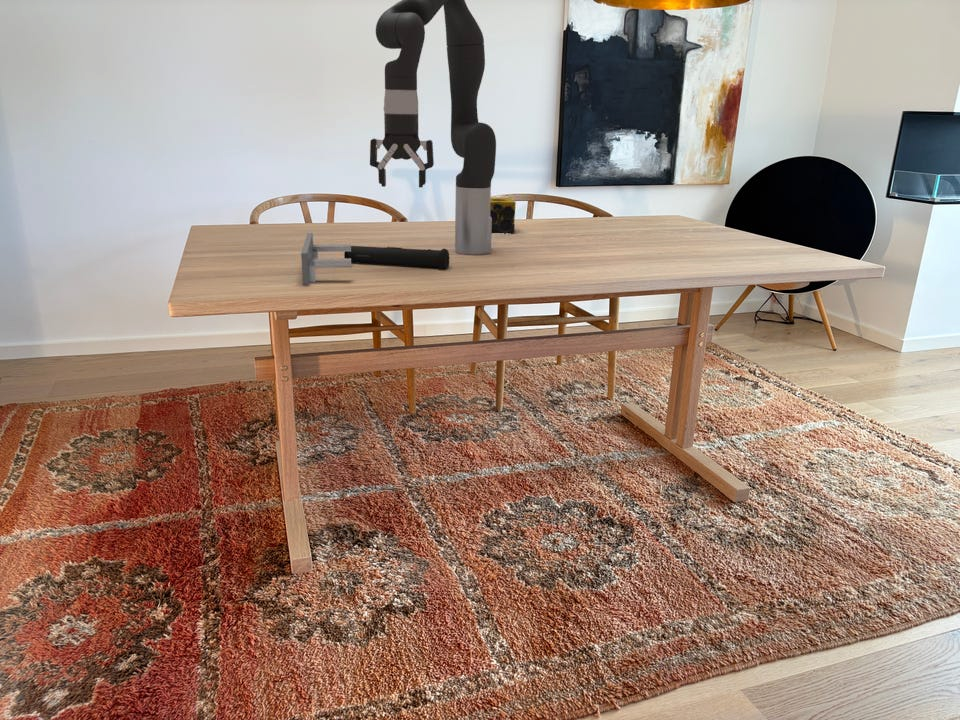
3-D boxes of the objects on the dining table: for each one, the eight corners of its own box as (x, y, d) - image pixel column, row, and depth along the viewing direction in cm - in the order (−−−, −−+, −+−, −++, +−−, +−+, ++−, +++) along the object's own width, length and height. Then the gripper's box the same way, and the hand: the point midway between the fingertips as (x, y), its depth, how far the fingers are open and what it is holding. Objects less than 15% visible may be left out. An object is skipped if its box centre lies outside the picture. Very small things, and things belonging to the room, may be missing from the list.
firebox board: (315, 265, 178) (313, 233, 175) (310, 290, 155) (308, 253, 153) (309, 265, 177) (307, 233, 175) (303, 290, 155) (301, 253, 152)
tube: (450, 269, 179) (450, 246, 177) (445, 274, 173) (445, 251, 172) (351, 263, 182) (351, 241, 180) (344, 268, 177) (343, 245, 175)
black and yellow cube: (478, 228, 233) (479, 197, 230) (510, 228, 234) (511, 197, 231) (482, 234, 224) (483, 201, 220) (514, 234, 225) (516, 201, 221)
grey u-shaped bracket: (351, 267, 176) (350, 244, 174) (352, 286, 159) (351, 260, 157) (313, 268, 175) (312, 244, 173) (309, 287, 158) (308, 261, 156)
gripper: (434, 112, 165) (434, 185, 170) (372, 110, 165) (373, 184, 171) (431, 113, 158) (431, 189, 163) (366, 111, 158) (368, 187, 163)
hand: (402, 186), depth 167 cm, fingers open, 8 cm apart
